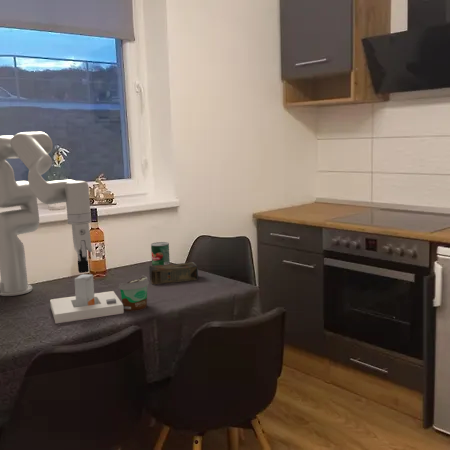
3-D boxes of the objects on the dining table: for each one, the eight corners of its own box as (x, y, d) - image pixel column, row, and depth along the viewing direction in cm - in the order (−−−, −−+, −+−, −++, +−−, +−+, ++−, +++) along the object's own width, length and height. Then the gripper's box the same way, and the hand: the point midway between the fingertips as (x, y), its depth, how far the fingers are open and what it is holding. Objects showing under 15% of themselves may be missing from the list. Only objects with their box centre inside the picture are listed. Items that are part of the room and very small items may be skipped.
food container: (134, 314, 182) (132, 285, 181) (120, 312, 185) (118, 283, 184) (157, 304, 192) (156, 276, 191) (144, 302, 196) (142, 274, 194)
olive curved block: (199, 280, 222) (198, 264, 221) (151, 285, 217) (150, 269, 216) (194, 275, 230) (194, 260, 229) (148, 280, 225) (148, 265, 224)
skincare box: (88, 313, 185) (85, 278, 183) (76, 313, 186) (73, 278, 184) (95, 307, 191) (93, 274, 189) (84, 307, 192) (81, 274, 190)
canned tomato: (149, 270, 241) (148, 245, 240) (155, 265, 249) (153, 241, 247) (167, 270, 240) (166, 245, 238) (172, 265, 248) (170, 241, 246)
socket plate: (55, 323, 176) (54, 311, 175) (50, 307, 193) (49, 296, 192) (123, 313, 184) (123, 301, 183) (113, 298, 201) (112, 288, 200)
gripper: (94, 220, 177) (98, 275, 180) (87, 214, 191) (91, 266, 194) (70, 222, 175) (74, 278, 178) (65, 216, 188) (69, 268, 191)
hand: (83, 271), depth 186 cm, fingers closed
